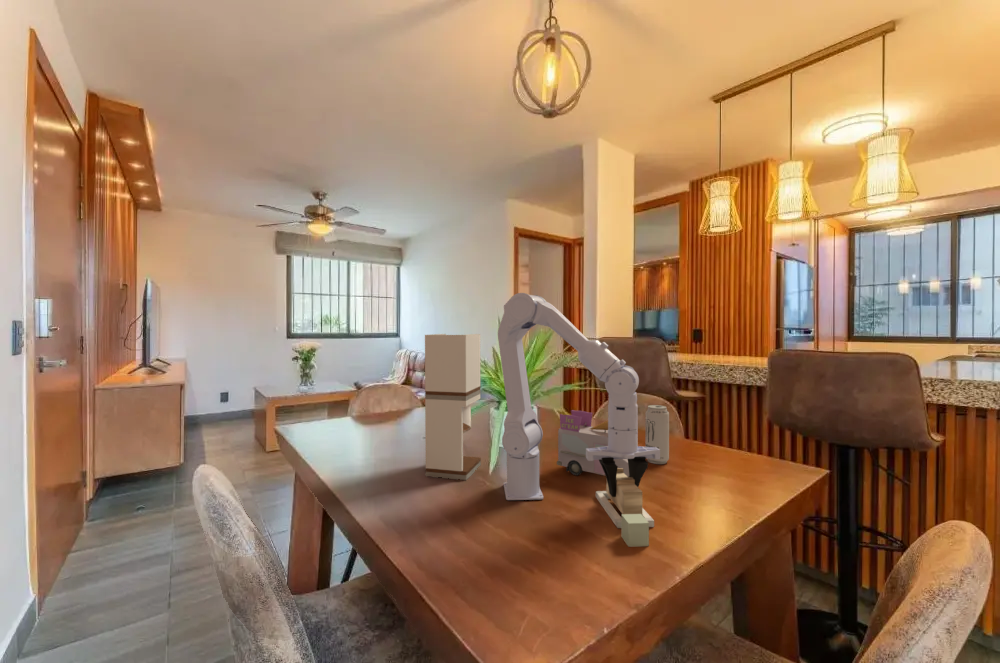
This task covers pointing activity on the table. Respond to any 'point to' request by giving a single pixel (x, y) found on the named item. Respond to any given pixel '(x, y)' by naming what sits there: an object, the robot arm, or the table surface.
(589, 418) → the toy vehicle
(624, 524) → the block
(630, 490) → the tan stepped block
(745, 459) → the table surface
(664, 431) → the energy drink can
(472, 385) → the beige tall block
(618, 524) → the jig
